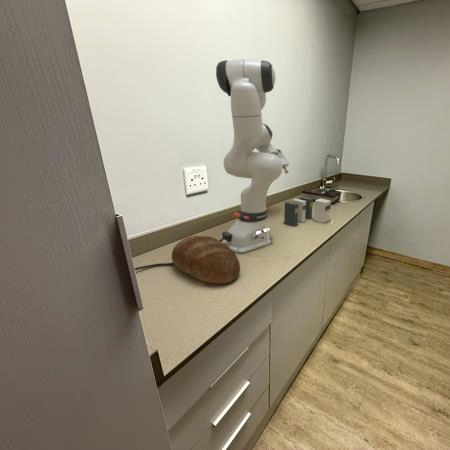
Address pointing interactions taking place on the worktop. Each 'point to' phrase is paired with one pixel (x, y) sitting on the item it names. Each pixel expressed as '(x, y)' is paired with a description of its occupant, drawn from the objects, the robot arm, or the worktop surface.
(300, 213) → the white book
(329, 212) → the white book
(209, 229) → the worktop surface
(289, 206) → the grey book left
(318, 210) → the white book
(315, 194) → the decorative book
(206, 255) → the bread
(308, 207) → the grey book right
